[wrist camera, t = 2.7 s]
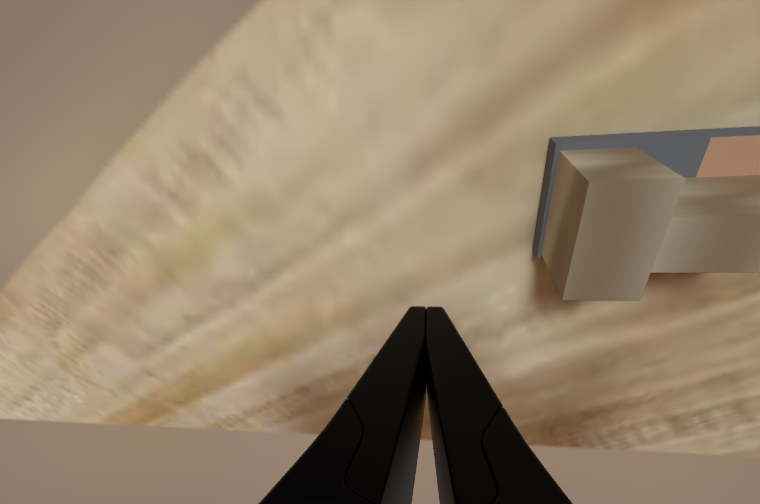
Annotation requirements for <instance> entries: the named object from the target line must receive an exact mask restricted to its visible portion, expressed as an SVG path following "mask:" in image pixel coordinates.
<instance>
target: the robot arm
mask: <svg viewBox="0 0 760 504" xmlns="http://www.w3.org/2000/svg"><path fill="white" fill-rule="evenodd" d="M426 388H427V396H428V406H429V414H430V423H431V432H432V440H433V449H434V457H435V465H436V474H437V483H438V491H439V500H440V504H572V503H571V501H570V500H569V499H568V497H567V496H566V495H565V493H564V492H563V491H562V490H561V488H560V487H559V486H558V485H557V483H556V482H555V481H554V479H553V478H552V477H551V475H550V474H549V473H548V472H547V470H546V469H545V468H544V466H543V465H542V464H541V462H540V461H539V459H538V458H537V457H536V455H535V454H534V453H533V451H532V450H531V449H530V447H529V446H528V445H527V443H526V442H525V440H524V438H523V437H522V435H521V434H520V432H519V431H518V429H517V428H516V426H515V425H514V423H513V422H512V420H511V418H510V417H509V415H508V413H507V412H506V410H505V409H504V408H502V407H503V406H502V404H501V402H500V400H499V399H498V397H497V396H496V394H495V392H494V391H493V389H492V387H491V386H490V384H489V382H488V381H487V379H486V377H485V376H484V374H483V373H482V371H481V369H480V368H479V366H478V364H477V363H476V361H475V359H474V358H473V356H472V354H471V353H470V351H469V350H468V348H467V346H466V345H465V343H464V341H463V340H462V338H461V336H460V335H459V333H458V331H457V330H456V328H455V326H454V325H453V323H452V322H451V320H450V318H449V317H448V315H447V313H446V312H445V310H444V309H443V308H442V307H427V310H426V308H425V307H420V306H412V307H410V308H409V309H408V311H407V312H406V314H405V315H404V316H403V318H402V319H401V321H400V322H399V324H398V325H397V327H396V328H395V329H394V331H393V332H392V334H391V335H390V337H389V338H388V339H387V341H386V342H385V344H384V345H383V347H382V348H381V349H380V351H379V352H378V354H377V355H376V357H375V358H374V360H373V361H372V362H371V364H370V365H369V367H368V368H367V370H366V371H365V372H364V374H363V375H362V377H361V378H360V380H359V381H358V382H357V384H356V385H355V387H354V388H353V390H352V391H351V393H350V394H349V395H348V397H347V399H346V400H345V401H344V402H343V404H342V405H341V407H340V408H339V410H338V411H337V412H336V414H335V415H334V416H333V418H332V419H331V420H330V422H329V423H328V424H327V426H326V427H325V428H324V430H323V431H322V432H321V433H320V435H319V436H318V437H317V438H316V439H315V441H314V442H313V443H312V444H311V445H310V447H309V448H308V449H307V450H306V451H305V452H304V453H303V455H302V456H301V457H300V458H299V459H298V460H297V461H296V462H295V464H294V465H293V466H292V467H291V468H290V469H289V470H288V472H287V473H286V474H285V475H284V476H283V477H282V478H281V480H280V481H279V482H278V483H277V484H276V485H275V486H274V487H273V488H272V490H271V491H270V492H269V493H268V494H267V495H266V496H265V497H264V499H263V500H262V501H261V502H260V503H259V504H411V502H412V495H413V488H414V480H415V473H416V466H417V458H418V451H419V443H420V437H421V429H422V422H423V415H424V407H425V400H426Z"/></svg>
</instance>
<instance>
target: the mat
mask: <svg viewBox="0 0 760 504" xmlns="http://www.w3.org/2000/svg"><path fill="white" fill-rule="evenodd" d="M625 147H637V148H638V149H640V150H642V151H643V152H645V153H646V154H648V155H649V156H651V157H653V158H654V159H656V160H657V161H659V162H660V163H662V164H664V165H665V166H667V167H668V168H670V169H671V170H673V171H674V172H676V173H678V174H679V175H681V176H682V177H684V178H691V177H720V176H748V175H760V127H741V128H722V129H703V130H684V131H666V132H647V133H628V134H609V135H591V136H572V137H553V138H550V141H549V148H548V154H547V160H546V167H545V173H544V179H543V186H542V192H541V198H540V205H539V211H538V217H537V224H536V230H535V236H534V242H533V251H534V254H535V256H536V258H537V259H543V257H542V254H541V253H542V247H543V242H544V236H545V230H546V224H547V219H548V213H549V207H550V202H551V196H552V190H553V185H554V179H555V173H556V167H557V162H558V156H559V151H563V150H583V149H604V148H625Z"/></svg>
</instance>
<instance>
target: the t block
mask: <svg viewBox="0 0 760 504" xmlns="http://www.w3.org/2000/svg"><path fill="white" fill-rule="evenodd" d="M541 254H542V257H543V259H544V261H545V263H546V265H547V268H548V270H549V272H550V274H551V276H552V279H553V281H554V283H555V285H556V287H557V290H558V292H559V294H560V296H561V298H562V300H590V301H640V300H641V297H642V295H643V292H644V289H645V287H646V284H647V281H648V279H649V276H650V274H651V273H760V175H748V176H720V177H691V178H684V177H682V176H681V175H679V174H678V173H676V172H674V171H673V170H671V169H670V168H668V167H667V166H665V165H664V164H662V163H660V162H659V161H657V160H656V159H654V158H653V157H651V156H649V155H648V154H646V153H645V152H643V151H642V150H640V149H638V148H637V147H625V148H604V149H583V150H563V151H559V156H558V162H557V167H556V173H555V179H554V185H553V190H552V196H551V202H550V207H549V213H548V219H547V224H546V230H545V236H544V242H543V247H542V253H541Z"/></svg>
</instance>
